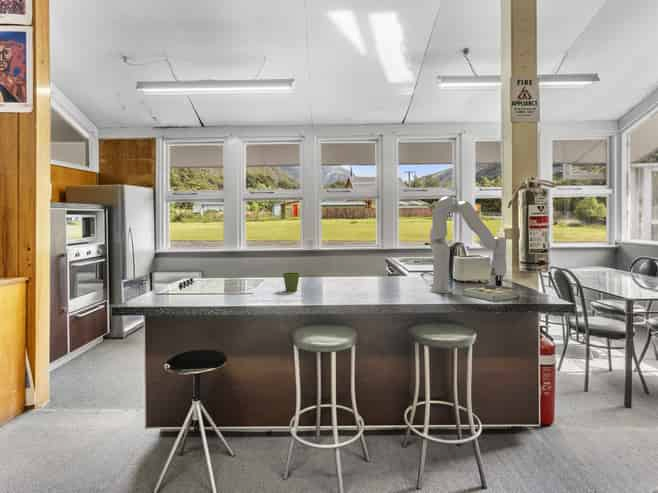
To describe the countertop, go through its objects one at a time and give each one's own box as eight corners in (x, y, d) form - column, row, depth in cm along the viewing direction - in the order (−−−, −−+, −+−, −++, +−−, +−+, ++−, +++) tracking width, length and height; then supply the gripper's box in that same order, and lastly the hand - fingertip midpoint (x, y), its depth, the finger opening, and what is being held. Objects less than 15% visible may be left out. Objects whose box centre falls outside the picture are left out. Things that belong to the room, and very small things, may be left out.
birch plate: (477, 293, 253) (477, 288, 253) (489, 291, 259) (489, 287, 259) (505, 299, 236) (505, 294, 236) (517, 297, 241) (517, 292, 241)
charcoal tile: (484, 288, 254) (484, 284, 254) (489, 287, 257) (489, 283, 256) (490, 289, 250) (491, 285, 250) (496, 288, 252) (496, 284, 252)
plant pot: (302, 291, 262) (302, 274, 261) (284, 292, 259) (284, 275, 258) (298, 288, 273) (298, 271, 273) (280, 289, 270) (280, 272, 269)
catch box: (463, 295, 249) (463, 289, 249) (475, 293, 254) (475, 287, 254) (493, 301, 230) (493, 295, 230) (506, 299, 235) (506, 293, 235)
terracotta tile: (492, 293, 239) (492, 297, 239) (486, 294, 236) (486, 298, 236) (499, 294, 234) (499, 299, 234) (494, 295, 232) (493, 300, 232)
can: (493, 287, 273) (494, 269, 272) (485, 285, 282) (486, 267, 281) (506, 287, 275) (506, 269, 274) (497, 284, 284) (498, 267, 283)
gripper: (501, 255, 262) (501, 284, 264) (486, 257, 255) (485, 286, 256) (512, 256, 256) (511, 285, 257) (496, 258, 248) (495, 288, 250)
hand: (498, 285), depth 257 cm, fingers closed
